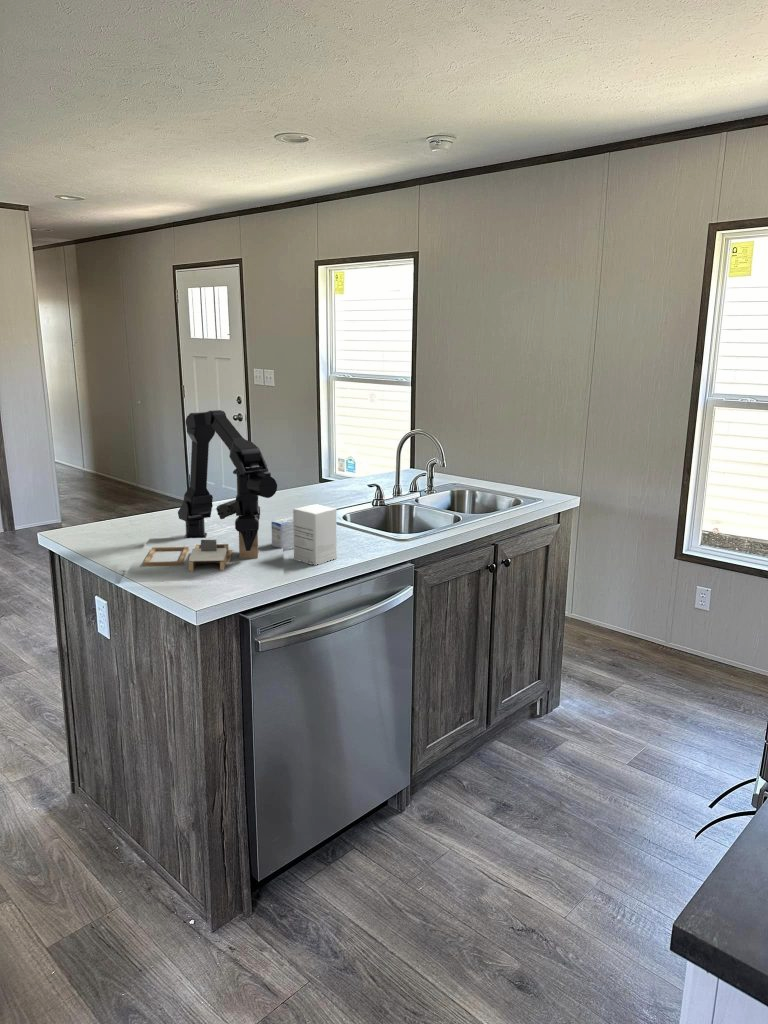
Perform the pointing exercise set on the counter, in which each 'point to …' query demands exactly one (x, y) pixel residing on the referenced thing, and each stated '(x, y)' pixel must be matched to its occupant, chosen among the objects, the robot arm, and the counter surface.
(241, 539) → the walnut block
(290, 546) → the medicine box
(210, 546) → the lid
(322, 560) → the supplement box
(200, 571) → the counter surface
